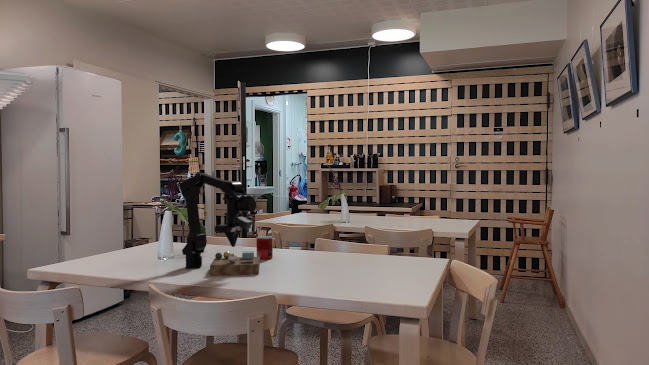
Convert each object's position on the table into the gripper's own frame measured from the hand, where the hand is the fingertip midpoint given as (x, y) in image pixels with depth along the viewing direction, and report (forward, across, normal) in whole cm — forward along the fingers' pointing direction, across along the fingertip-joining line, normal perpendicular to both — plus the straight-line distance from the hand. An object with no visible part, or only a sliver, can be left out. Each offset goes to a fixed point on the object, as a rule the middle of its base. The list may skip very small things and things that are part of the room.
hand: (233, 246), depth 201 cm
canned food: (+11, +33, +5) cm, 36 cm away
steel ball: (+4, -2, -2) cm, 5 cm away
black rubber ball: (+5, +2, +10) cm, 11 cm away
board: (+11, +2, 0) cm, 11 cm away
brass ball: (+5, +6, +7) cm, 11 cm away
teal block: (+6, +10, -1) cm, 12 cm away
